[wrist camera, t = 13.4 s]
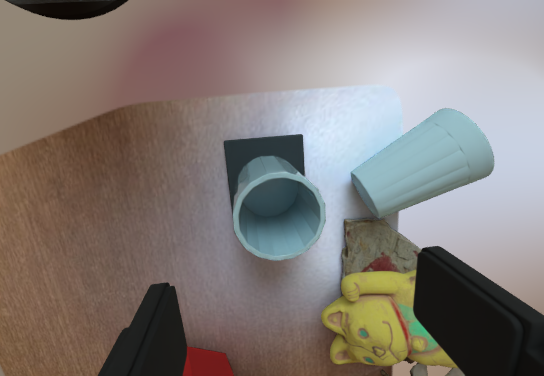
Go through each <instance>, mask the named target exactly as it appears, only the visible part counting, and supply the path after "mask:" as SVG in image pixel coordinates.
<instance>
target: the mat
mask: <svg viewBox="0 0 544 376" xmlns="http://www.w3.org/2000/svg"><path fill="white" fill-rule="evenodd" d="M224 148H225V157H226V165H227V173H228V181H229V190H230V198H231V206H232V214H233V206H234V196H235V186H236V182H237V178H238V176H239V173H240V172H241V170H242V169H243V167H244V166H245V165H246V164H247V163H249V162H250V161H252V160H253V159H255V158H258V157H261V156H277V157H280V158H283V159H285V160H287V161H288V162H289V163H290V164H291V165H293V166H294V167H295V168H296V169H297V170H298V171H299V172H300V173H301V174H302V175H303V176H304V177H305V175H304V152H303V135H301V134H298V135H286V136H274V137H263V138H251V139H239V140H227V141H224Z"/></svg>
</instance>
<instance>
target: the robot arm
mask: <svg viewBox="0 0 544 376" xmlns="http://www.w3.org/2000/svg"><path fill="white" fill-rule="evenodd" d="M413 313H414V315H415V317H416V319H417V320H418V321H419V323H420V324H421V325H422V326H423V327H424V328H425V330H426V331H427V332H428V333H429V334H430V335H431V336H432V338H433V339H434V340H435V341H436V342H437V343H438V345H439V346H440V347H441V348H442V349H443V350H444V352H445V353H446V354H447V355H448V356H449V357H450V358H451V360H452V361H453V362H454V363H455V364H456V365H457V367H458V368H459V369H460V370H461V371H462V372H463V374H464V375H465V376H544V315H542V314H541V313H539V312H538V311H536V310H535V309H533V308H532V307H530V306H529V305H527V304H526V303H524V302H523V301H521V300H520V299H518V298H517V297H515V296H513V295H512V294H511V293H509V292H508V291H506V290H505V289H503V288H501V287H500V286H499V285H497V284H496V283H494V282H493V281H491V280H489V279H488V278H487V277H485V276H484V275H482V274H481V273H479V272H478V271H476V270H475V269H473V268H472V267H470V266H469V265H467V264H466V263H464V262H462V261H461V260H459V259H458V258H457V257H455V256H454V255H452V254H451V253H449V252H448V251H446V250H445V249H443V248H441V247H439V246H433V247H426V248H423V249H422V250H421V252H419V253H418V256H417V267H416V279H415V290H414V302H413ZM186 357H187V343H186V338H185V333H184V328H183V323H182V318H181V314H180V309H179V304H178V299H177V294H176V289H175V287H174V286H170V285H169V283H168V282H167V283H159V284H152V285H151V286H150V287H149V289H148V291H147V293H146V295H145V297H144V299H143V301H142V303H141V305H140V307H139V309H138V311H137V312H136V314H135V316H134V318H133V320H132V322H131V324H130V326H129V327H128V328H125V329H123V330H122V332H121V333H120V335H119V337H118V339H117V341H116V343H115V344H114V346H113V348H112V350H111V352H110V354H109V356H108V358H107V359H106V361H105V363H104V365H103V367H102V369H101V371H100V373H99V374H98V376H183V371H184V367H185V362H186Z"/></svg>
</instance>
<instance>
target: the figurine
mask: <svg viewBox="0 0 544 376" xmlns="http://www.w3.org/2000/svg"><path fill="white" fill-rule="evenodd" d="M415 279H416V270H413V271H410V272H407V273H405V274H402V273H398V272H392V271H376V272H360V273H352V274H350V275H347V276H346V277H345V278H343V280H342V282H341V290H342V293H343V296H341V297H340V298H338V299H337V300H335V301H334V302H333V303H331V304H330V305H328V306H327V307H326V308H325V309H324V310H323V311H322V314H321V319H322V322H323V324H324V325H325V326H326V327H327V328H329V329H330V330H332V331H334V332H336V333H338V334H337V336H336V337H335V339H334V341H333V343H332V346H331V348H330V357H331V360H332V362H333V363H335V364H337V365H342V364H346V363H356V362H361V363H364V364H366V365H379V366H391V365H394V364H396V363H399V362H401V361H403V360H404V359H405V358H406V357H408V358H410V359H411V360H413V361H416V362H418V363H420V364H423V365H431V366H436V365H440V366H445V367H452V368H458V367H457V365H456V364H455V363H454V362H453V361H452V360H451V358H450V357H449V356H448V355H447V354H446V353H445V352H444V350H443V349H442V348H441V347H440V346H439V345H438V343H437V342H436V341H435V340H434V339H433V338H432V336H431V335H430V334H429V333H428V332H427V331H426V330H425V328H424V327H423V326H422V325H421V324H420V323H419V321H418V320H417V319H416V317H415V315H414V313H413V302H414V290H415Z"/></svg>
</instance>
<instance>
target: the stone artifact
mask: <svg viewBox="0 0 544 376" xmlns="http://www.w3.org/2000/svg"><path fill="white" fill-rule="evenodd" d="M344 224H345V239H346V244H347V246H346V247H344V248H343V250H342V262H343V275H342V280H343V278H345V277H346V276H347V275H350V274H352V273H360V272H376V271H392V272H398V273H402V274H405V273H407V272H410V271H413V270H416V267H417V256H418V253H419V252H421V249H420V248H419V247H418V246H416V245H415V244H413V243H412V242H411V241H410V240H408V239H407V238H406V237H404V236H403V235H402V234H400V233H398V232H397V231H395V230H392V229H391V228H390V226H389V224H388V223H387V222H386V221H385V219H382V220H374V219H372V218H363V219H358V220H351V219H345V220H344ZM403 361H407V362H408V363H410V364H411V363H413V362H414V361H413V360H411V359H410V358H408V357H406V358H405V359H404V360H403Z"/></svg>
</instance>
